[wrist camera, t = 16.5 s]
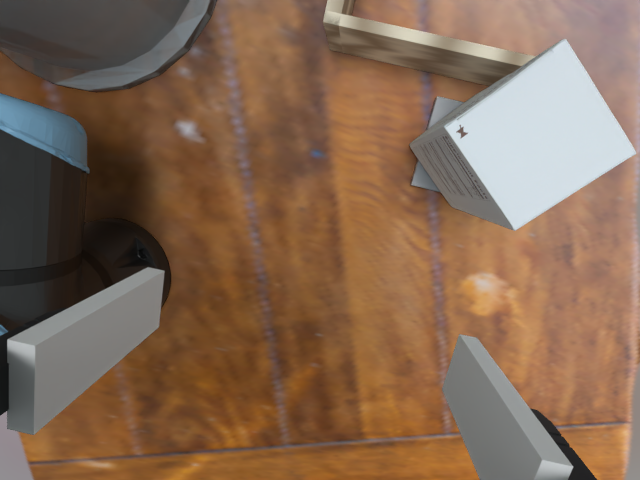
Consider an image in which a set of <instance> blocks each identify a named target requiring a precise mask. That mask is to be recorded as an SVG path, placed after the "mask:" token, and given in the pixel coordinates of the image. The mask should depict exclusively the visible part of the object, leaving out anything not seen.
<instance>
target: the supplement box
mask: <svg viewBox="0 0 640 480" xmlns="http://www.w3.org/2000/svg"><path fill="white" fill-rule="evenodd" d="M409 146H410V148H411V149H412V151H413V152H414V154H415V155H416V157H417V158H418V160H419V161H420V163H421V164H422V166H423V167H424V169H425V170H426V172H427V173H428V174H429V176H430V177H431V179H432V180H433V182H434V183H435V185H436V186H437V187H438V189H439V190H440V192H441V193H442V195H443V196H444V197H445V199H446V200H447V201H448V203H449V204H450V206H451V207H453V208H456V209H458V210H461V211H464V212H466V213H469V214H471V215H474V216H477V217H480V218H482V219H485V220H487V221H490V222H493V223H495V224H498V225H501V226H503V227H506V228H508V229H511V230H514V231H516V230H517V229H519V228H520V227H522V226H523V225H525V224H526V223H528V222H529V221H531V220H533V219H534V218H536V217H537V216H539V215H540V214H542V213H543V212H545V211H547V210H548V209H550V208H551V207H553V206H554V205H556V204H557V203H559V202H561V201H562V200H564V199H565V198H567V197H568V196H570V195H571V194H573V193H575V192H576V191H578V190H579V189H581V188H582V187H584V186H586V185H587V184H589V183H590V182H592V181H594V180H595V179H597V178H598V177H600V176H601V175H603V174H604V173H606V172H608V171H609V170H611V169H612V168H614V167H615V166H617V165H619V164H620V163H622V162H623V161H625V160H627V159H628V158H630V157H631V156H633V155H635V154H636V151H635V149H634V148H633V146H632V144H631V143H630V141H629V139H628V138H627V136H626V134H625V133H624V131H623V129H622V128H621V126H620V125H619V123H618V122H617V120H616V118H615V117H614V115H613V114H612V112H611V111H610V109H609V107H608V106H607V104H606V103H605V101H604V99H603V98H602V96H601V94H600V93H599V91H598V90H597V88H596V86H595V85H594V83H593V81H592V80H591V78H590V76H589V75H588V73H587V72H586V70H585V68H584V67H583V65H582V64H581V62H580V61H579V59H578V57H577V56H576V54H575V53H574V51H573V49H572V48H571V46H570V45H569V43H568V41H567V40H566V39H563V40H561V41H559V42H558V43H556V44H555V45H553V46H551V47H550V48H548V49H547V50H545V51H544V52H542V53H541V54H539V55H538V56H536V57H534V58H533V59H531V60H530V61H528V62H527V63H526V64H524V65H523V66H521V67H520V68H519V69H517V70H516V71H514V72H513V73H511V74H508V75H507V76H505V77H503V78H502V79H500V80H499V81H497V82H495V83H494V84H492V85H491V86H489V87H488V88H486V89H484V90H483V91H481V92H479V93H478V94H476V95H474V96H473V97H471V98H470V99H469V100H467V101H466V102H464V103H463V104H462V105H460V106H459V107H457V108H456V109H455V110H453V111H452V112H451V113H449V114H448V115H447V116H445V117H444V118H443V119H441V120H440V121H438V122H437V123H436V124H434V125H433V126H432V127H430V128H429V129H428V130H427V131H425V132H424V133H423V134H421V135H420V136H419V137H417V138H416V139H415V140H413V141H412V142H411V143H410V144H409Z"/></svg>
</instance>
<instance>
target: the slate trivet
mask: <svg viewBox="0 0 640 480" xmlns="http://www.w3.org/2000/svg"><path fill="white" fill-rule="evenodd" d="M463 103H464V102H460V101H456V100H451V99H447V98H443V97H438V96H437V97H436V98H435V101H434V104H433V108H432V111H431V114H430V118H429V121H428V125H427V128H426V131H427V130H428V129H429V128H430V127H432V126H433V125H434V124H436V123H437V122H438V121H440V120H441V119H443V118H444V117H445V116H447V115H448V114H449V113H451V112H452V111H453V110H455V109H456V108H457V107H459V106H460V105H462V104H463ZM410 185H414V186H418V187H422V188H426V189H430V190H434V191H438V192H440V190H439V189H438V187H437V186H436V185H435V183H434V182H433V180H432V179H431V177H430V176H429V174H428V173H427V172H426V170H425V169H424V167H423V166H422V164H421V163H420V161H419V160H418V159H417V162H416V166H415V169H414V172H413V176H412V179H411V183H410Z"/></svg>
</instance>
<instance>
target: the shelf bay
mask: <svg viewBox="0 0 640 480" xmlns="http://www.w3.org/2000/svg"><path fill="white" fill-rule="evenodd" d="M354 2H355V0H328V1H327V5H326V10H325V15H324V19H323V24H324V28H325V32H326V36H327V40H328V44H329V48H330V50H333V51H337V52H341V53H346V54H350V55H355V56H359V57H363V58H368V59H372V60H377V61H381V62H385V63H390V64H394V65H399V66H403V67H408V68H412V69H416V70H421V71H425V72H430V73H434V74H438V75H443V76H447V77H452V78H456V79H460V80H465V81H469V82H474V83H478V84H483V85H487V86H491V85H492V84H494V83H495V82H497V81H499V80H500V79H502V78H503V77H505V76H507V75H508V74H511V73H513V72H514V71H516V70H517V69H519V68H520V67H521V66H523V65H524V64H526V63H527V62H528V61H530V60H531V59H533V58H534V57H536V56H531V55H527V54H522V53H517V52H513V51H508V50H504V49H499V48H495V47H490V46H486V45H481V44H477V43H472V42H468V41H463V40H458V39H454V38H449V37H445V36H440V35H436V34H431V33H427V32H422V31H418V30H413V29H408V28H404V27H399V26H395V25H390V24H386V23H381V22H377V21H372V20H368V19H363V18H358V17H354V16H351V15H352V11H353V7H354Z"/></svg>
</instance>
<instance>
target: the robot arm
mask: <svg viewBox="0 0 640 480" xmlns="http://www.w3.org/2000/svg"><path fill="white" fill-rule="evenodd" d="M89 172H90V170H89V167H88V166H87V135H86V132H85V130H84V128H83V127H82V125H81V124H80V123H79V122H78V121H76V120H75V119H74V118H72V117H70V116H68V115H65V114H63V113H60V112H57V111H54V110H51V109H48V108H45V107H42V106H39V105H36V104H33V103H30V102H27V101H24V100H20V99H17V98H14V97H11V96H8V95H4V94H1V93H0V415H2V414H3V413H4V412H6V411H7V429H10V430H15V431H19V432H23V433H27V434H32V435H34V434H35V433H37V432H38V431H39V430H40V429H41V428H42V427H44V426H45V425H46V424H47V423H48V422H49V421H50V420H52V419H53V418H54V417H55V416H56V415H57V414H59V413H60V412H61V411H62V410H63V409H64V408H66V407H67V406H68V405H69V404H70V403H71V402H73V401H74V400H75V399H76V398H77V397H78V396H80V395H81V394H82V393H83V392H84V391H85V390H86V389H88V388H89V387H90V386H91V385H92V384H93V383H95V382H96V381H97V380H98V379H99V378H100V377H102V376H103V375H104V374H105V373H106V372H107V371H109V370H110V369H111V368H112V367H113V366H114V365H116V364H117V363H118V362H119V361H120V360H121V359H122V358H124V357H125V356H126V355H127V354H128V353H129V352H131V351H132V350H133V349H134V348H135V347H136V346H138V345H139V344H140V343H141V342H142V341H143V340H145V339H146V338H147V337H148V336H149V335H150V334H151V333H153V332H154V331H155V330H156V329H157V328H158V327H159V321H160V311H161V307H162V305H163V304H164V302H165V300H166V298H167V296H168V293H169V288H170V269H169V264H168V261H167V258H166V256H165V254H164V252H163V250H162V248H161V247H160V245H159V244H158V242H157V241H156V240H155V239H154V238H153V237H152V236H151V235H150V234H149V233H148V232H147V231H146V230H144V229H143V228H141V227H140V226H138V225H136V224H134V223H132V222H129V221H126V220H122V219H116V218H107V219H101V220H96V221H91V222H87V223H85V224H84V217H85V202H86V188H87V173H89ZM442 391H443V393H444V395H445V398H446V400H447V402H448V405H449V407H450V410H451V412H452V414H453V417H454V419H455V421H456V424H457V426H458V429H459V431H460V433H461V436H462V438H463V440H464V443H465V445H466V448H467V450H468V452H469V455H470V457H471V459H472V462H473V464H474V467H475V469H476V471H477V474H478V476H479V479H480V480H597V479H596V478H595V477H594V475H593V474H592V473H591V472H590V470H589V469H588V468H587V467H586V465H585V464H584V463H583V461H582V460H581V459H580V458H579V456H578V455H577V454H576V453H575V451H574V450H573V449H572V448H571V447H569V444H568V443H567V441H566V440H565V439H564V437H561V434H560V432H559V431H558V430H557V429H556V427H555V426H554V425H553V424H552V422H551V421H549V420H548V419H547V418H546V417H545V416H543V415H542V414H541V413H540V412H539V411H537V410H534V409H530V408H529V407H528V405H527V404H526V403H525V401H524V400H523V399H522V397H521V396H520V395H519V393H518V392H517V391H516V389H515V388H514V387H513V385H512V384H511V383H510V381H509V380H508V379H507V377H506V376H505V375H504V373H503V372H502V371H501V369H500V368H499V367H498V365H497V364H496V363H495V361H494V360H493V359H492V357H491V356H490V355H489V353H488V352H487V351H486V349H485V348H484V347H483V345H482V344H481V343H480V341H479V340H478V339H477V338H475V337H471V336H466V335H461V334H459V337H458V340H457V343H456V346H455V349H454V353H453V356H452V359H451V362H450V366H449V369H448V372H447V375H446V379H445V382H444V385H443V388H442Z"/></svg>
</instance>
